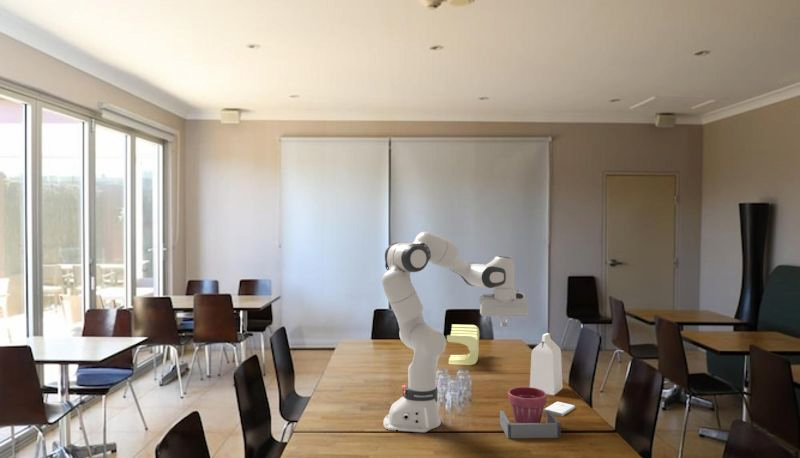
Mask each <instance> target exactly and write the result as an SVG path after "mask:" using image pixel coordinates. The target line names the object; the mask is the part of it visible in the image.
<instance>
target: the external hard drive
mask: <svg viewBox="0 0 800 458" xmlns="http://www.w3.org/2000/svg"><path fill="white" fill-rule="evenodd" d="M574 409H576V406H575V404H570V403H566V402H561V401H555V402H554V403H553V404H550V405H549V406H547V407H545V408H543V412H544V413H546V410H550V411H551V413H552V414H553V415H554V416H559V417H564V416H566V414H568V413H570V412H572V410H574Z"/></svg>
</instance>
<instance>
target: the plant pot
mask: <svg viewBox="0 0 800 458" xmlns="http://www.w3.org/2000/svg"><path fill="white" fill-rule="evenodd" d="M507 396H508V397H507V398H508V403H509V404H510V405H511V410H512V414H513V419H514V423H541V420H542V416H543V412H544V407H545V406H546V405H547V394H546V393H545V392H544V391H543V390H540V389H537V388H532V387H530V386H518V387H517V386H516V387H512V388H511V389H509V390H508V395H507Z"/></svg>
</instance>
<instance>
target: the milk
mask: <svg viewBox="0 0 800 458" xmlns="http://www.w3.org/2000/svg"><path fill="white" fill-rule="evenodd" d="M530 354H531V358H530V373H529V375H530V377H529V387H532V388H537V389H540V390H543V391H544V392H545V393H546V395H550V396H555V395H556V394H558V393H559V392H560V391H561V390H563V370H562V369H563V368H562V350H561V348H560V347H559V346H558V344H556V342H555V341H553V339H552V338H551V334H550V332H549V333H548V332H546V333H544V334H542V336H541V342H539V343H538V344H537V345H536V346H535V347H534V348H533V349H532V350H531V353H530Z"/></svg>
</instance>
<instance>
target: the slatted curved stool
mask: <svg viewBox="0 0 800 458" xmlns="http://www.w3.org/2000/svg"><path fill="white" fill-rule="evenodd" d="M450 329H451V331H450V334H447V335H446V342H448V343H457V344H461V345H464V346H466V347H467V349H468V351H469V353H466V354H450V356H449V357H448V365H463V366H465V365H467V366H472V365H475V364H476V363H477V362H478V360H479V359H478V358H479V353H480V352H479V349H480V347H479V346H480V344H479V342H480V328H479V327H478V326H477V325H475V324H457V323H456V324H452V323H451V328H450Z"/></svg>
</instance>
